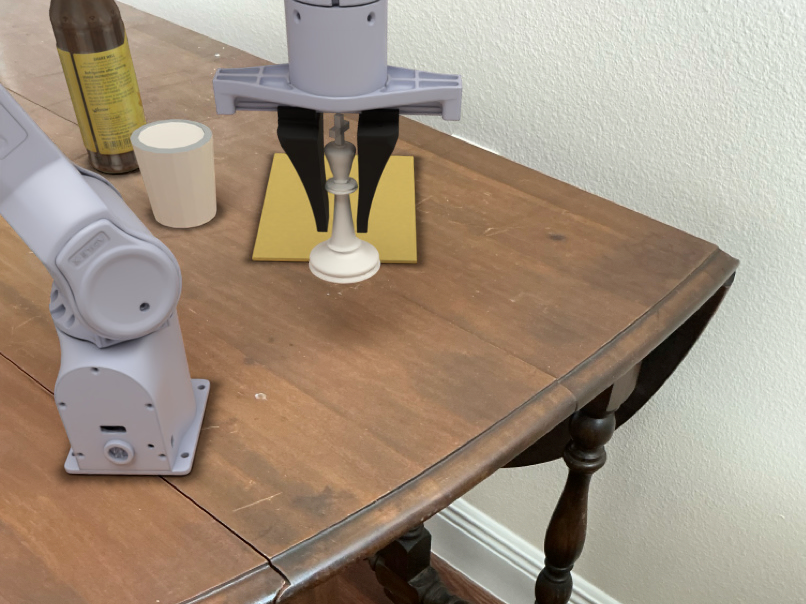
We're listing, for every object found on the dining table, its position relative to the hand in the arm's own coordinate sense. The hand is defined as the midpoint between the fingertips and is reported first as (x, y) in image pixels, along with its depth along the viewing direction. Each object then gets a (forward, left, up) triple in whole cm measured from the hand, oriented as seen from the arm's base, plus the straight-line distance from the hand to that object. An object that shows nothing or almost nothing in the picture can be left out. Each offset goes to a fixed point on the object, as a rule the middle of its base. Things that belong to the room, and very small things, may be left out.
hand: (343, 225), depth 56 cm
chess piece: (0, 0, -3) cm, 3 cm away
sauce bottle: (+30, +24, -10) cm, 40 cm away
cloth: (+22, +2, -10) cm, 24 cm away
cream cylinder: (+20, +16, -10) cm, 28 cm away
